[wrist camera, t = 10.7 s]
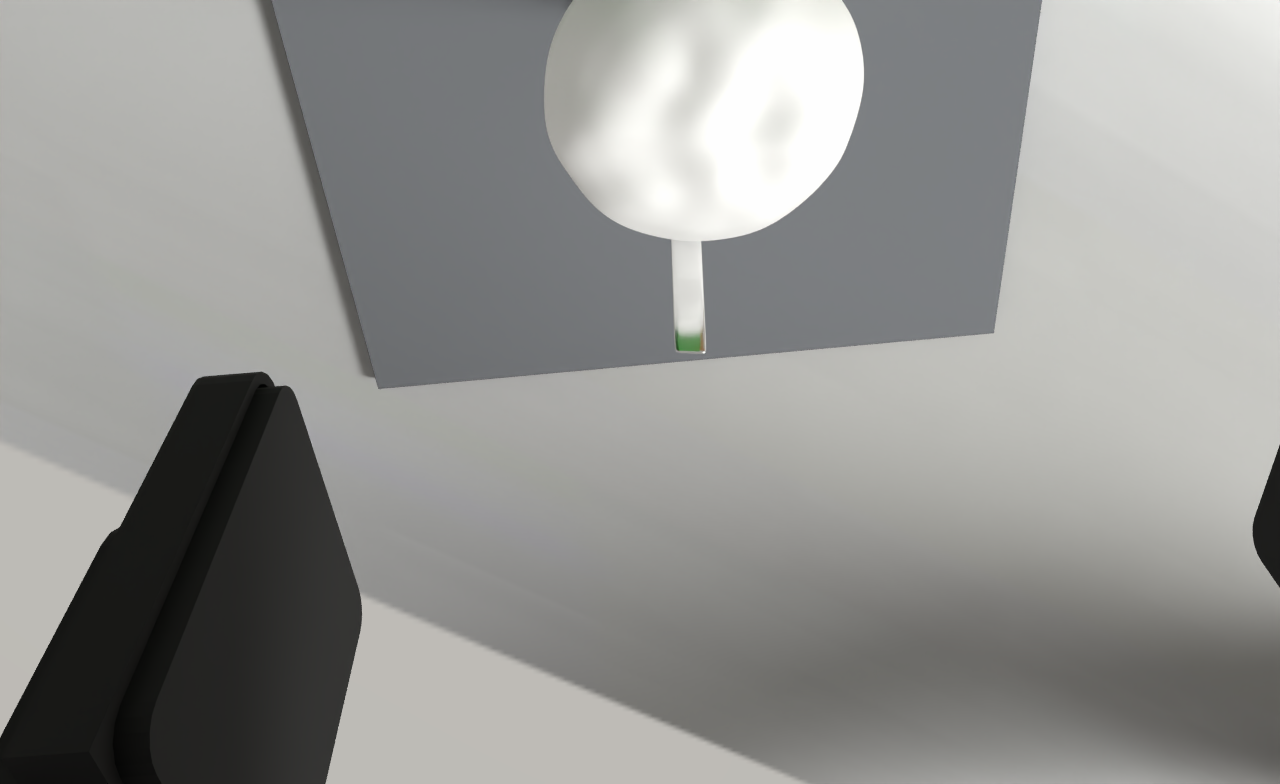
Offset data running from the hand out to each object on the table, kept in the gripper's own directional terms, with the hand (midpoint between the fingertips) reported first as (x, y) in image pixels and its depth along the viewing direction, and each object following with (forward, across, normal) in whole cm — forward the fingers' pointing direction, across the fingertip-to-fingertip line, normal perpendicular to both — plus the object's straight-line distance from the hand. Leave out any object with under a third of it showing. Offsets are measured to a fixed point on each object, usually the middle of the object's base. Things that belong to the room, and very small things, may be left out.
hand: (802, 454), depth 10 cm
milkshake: (+15, 0, 0) cm, 15 cm away
